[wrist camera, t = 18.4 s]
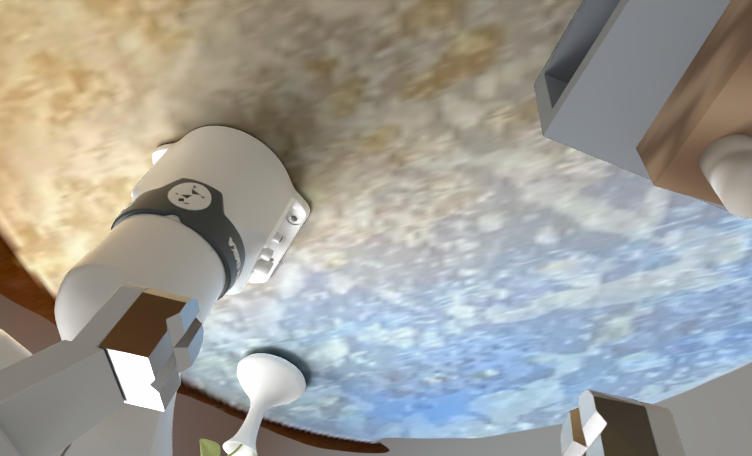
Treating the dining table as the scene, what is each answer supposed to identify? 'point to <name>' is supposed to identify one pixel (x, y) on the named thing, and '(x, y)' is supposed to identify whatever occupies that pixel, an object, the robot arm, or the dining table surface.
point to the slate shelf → (620, 73)
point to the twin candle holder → (709, 120)
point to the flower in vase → (259, 399)
